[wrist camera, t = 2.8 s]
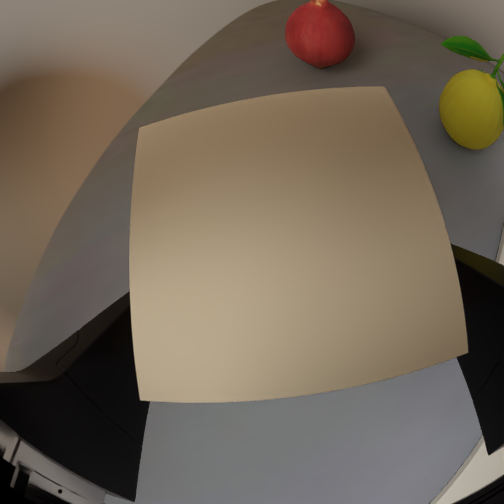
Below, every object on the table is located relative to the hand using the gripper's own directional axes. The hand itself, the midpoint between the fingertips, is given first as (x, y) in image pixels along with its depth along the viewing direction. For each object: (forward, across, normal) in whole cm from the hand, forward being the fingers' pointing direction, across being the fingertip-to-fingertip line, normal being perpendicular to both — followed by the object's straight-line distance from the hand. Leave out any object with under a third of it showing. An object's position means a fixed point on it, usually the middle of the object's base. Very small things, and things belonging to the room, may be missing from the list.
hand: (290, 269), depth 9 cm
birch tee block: (+5, 0, +6) cm, 8 cm away
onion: (+19, -6, -8) cm, 22 cm away
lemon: (+13, -16, -2) cm, 20 cm away
